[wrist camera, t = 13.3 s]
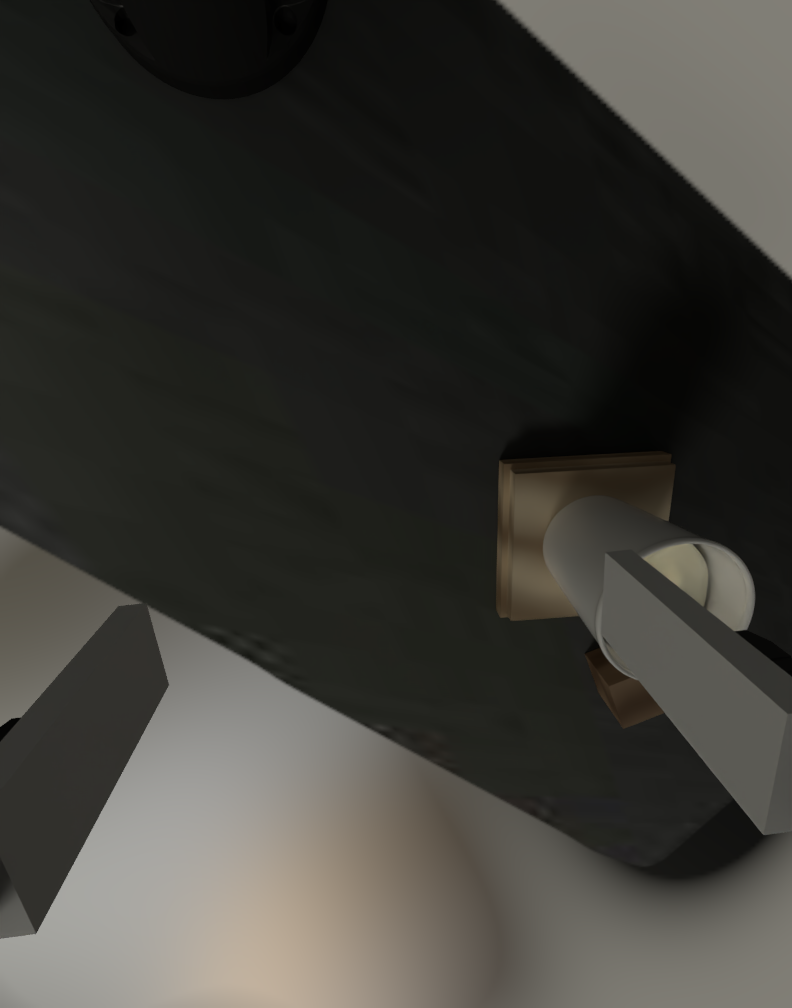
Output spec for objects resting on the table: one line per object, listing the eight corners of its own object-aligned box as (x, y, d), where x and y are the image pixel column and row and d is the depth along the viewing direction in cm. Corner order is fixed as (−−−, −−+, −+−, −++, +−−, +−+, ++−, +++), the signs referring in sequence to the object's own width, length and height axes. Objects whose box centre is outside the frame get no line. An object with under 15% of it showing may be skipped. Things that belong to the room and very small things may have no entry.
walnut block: (584, 653, 49) (608, 686, 44) (633, 633, 49) (663, 664, 44) (598, 692, 51) (623, 728, 46) (645, 673, 50) (676, 708, 46)
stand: (499, 460, 43) (509, 468, 40) (661, 450, 43) (682, 458, 41) (496, 609, 47) (505, 626, 44) (643, 598, 48) (662, 614, 45)
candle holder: (534, 488, 40) (604, 546, 29) (654, 481, 41) (769, 534, 30) (530, 600, 43) (592, 691, 32) (642, 591, 44) (742, 677, 33)
